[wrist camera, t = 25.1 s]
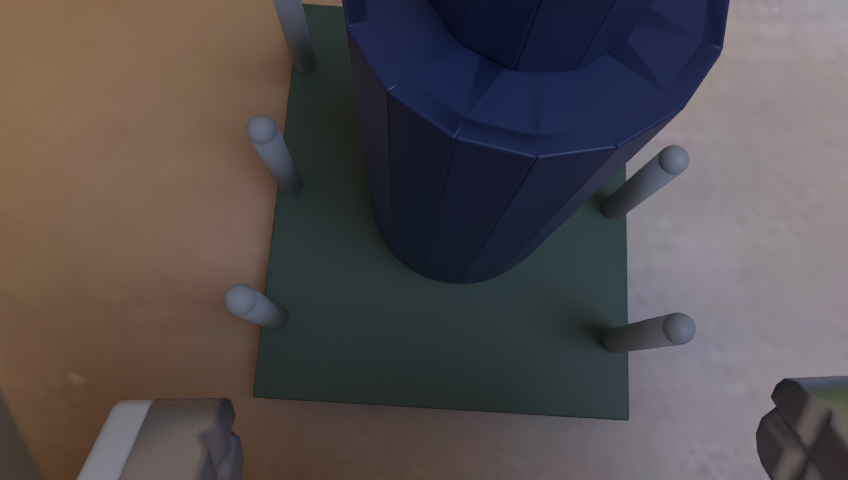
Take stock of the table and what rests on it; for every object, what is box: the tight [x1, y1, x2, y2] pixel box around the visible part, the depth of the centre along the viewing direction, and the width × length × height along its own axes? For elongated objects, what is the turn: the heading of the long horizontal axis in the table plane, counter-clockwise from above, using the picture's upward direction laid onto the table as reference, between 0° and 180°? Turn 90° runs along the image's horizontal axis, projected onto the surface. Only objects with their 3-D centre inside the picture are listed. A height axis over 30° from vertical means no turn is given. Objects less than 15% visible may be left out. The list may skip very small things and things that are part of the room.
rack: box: [224, 0, 696, 420], centre depth 19 cm, size 14×12×6 cm
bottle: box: [342, 0, 729, 284], centre depth 13 cm, size 6×6×16 cm
